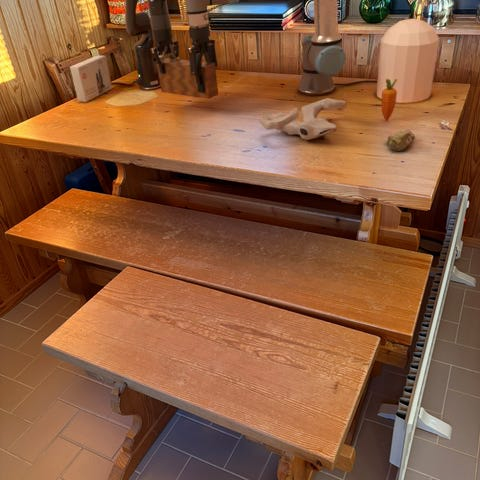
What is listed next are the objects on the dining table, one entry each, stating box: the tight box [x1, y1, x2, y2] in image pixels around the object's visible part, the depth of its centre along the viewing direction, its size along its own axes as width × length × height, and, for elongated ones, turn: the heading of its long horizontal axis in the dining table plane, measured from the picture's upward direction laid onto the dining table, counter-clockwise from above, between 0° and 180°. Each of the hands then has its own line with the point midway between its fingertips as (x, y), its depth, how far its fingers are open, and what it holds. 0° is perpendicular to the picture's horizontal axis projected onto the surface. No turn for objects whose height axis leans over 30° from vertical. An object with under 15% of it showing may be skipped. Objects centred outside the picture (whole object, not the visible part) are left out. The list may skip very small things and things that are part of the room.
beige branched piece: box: [259, 97, 347, 141], centre depth 160 cm, size 28×26×12 cm
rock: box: [387, 129, 416, 152], centre depth 146 cm, size 11×6×10 cm
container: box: [375, 18, 440, 104], centre depth 179 cm, size 21×21×28 cm
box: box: [157, 57, 219, 100], centre depth 183 cm, size 25×6×12 cm, turn 54°
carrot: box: [380, 79, 397, 122], centre depth 161 cm, size 5×5×15 cm
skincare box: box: [69, 54, 113, 103], centre depth 218 cm, size 21×6×16 cm, turn 158°
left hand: (168, 71), depth 187 cm, fingers closed on box, 6 cm apart
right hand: (206, 89), depth 180 cm, fingers closed on box, 6 cm apart
